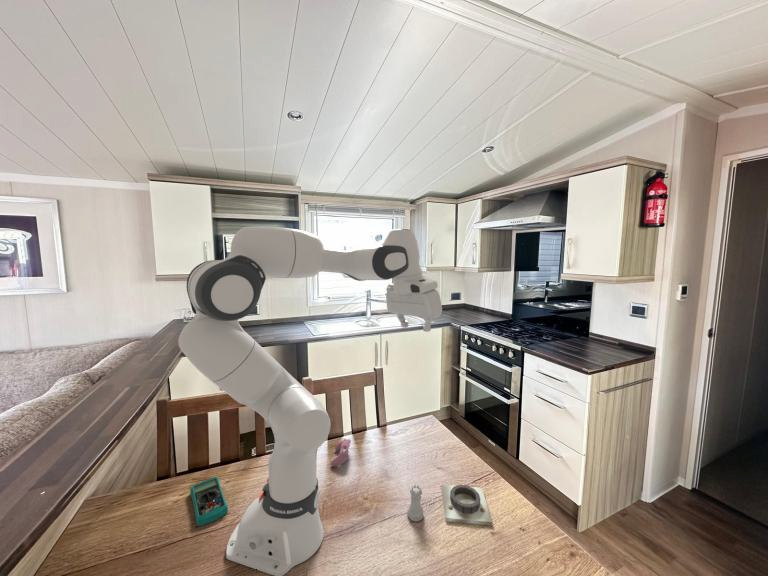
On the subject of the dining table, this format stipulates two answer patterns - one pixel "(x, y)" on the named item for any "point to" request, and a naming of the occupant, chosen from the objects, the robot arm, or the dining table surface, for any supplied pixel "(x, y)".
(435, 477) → the dining table surface
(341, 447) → the pink irregular piece
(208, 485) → the digital multimeter
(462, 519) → the socket block
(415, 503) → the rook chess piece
